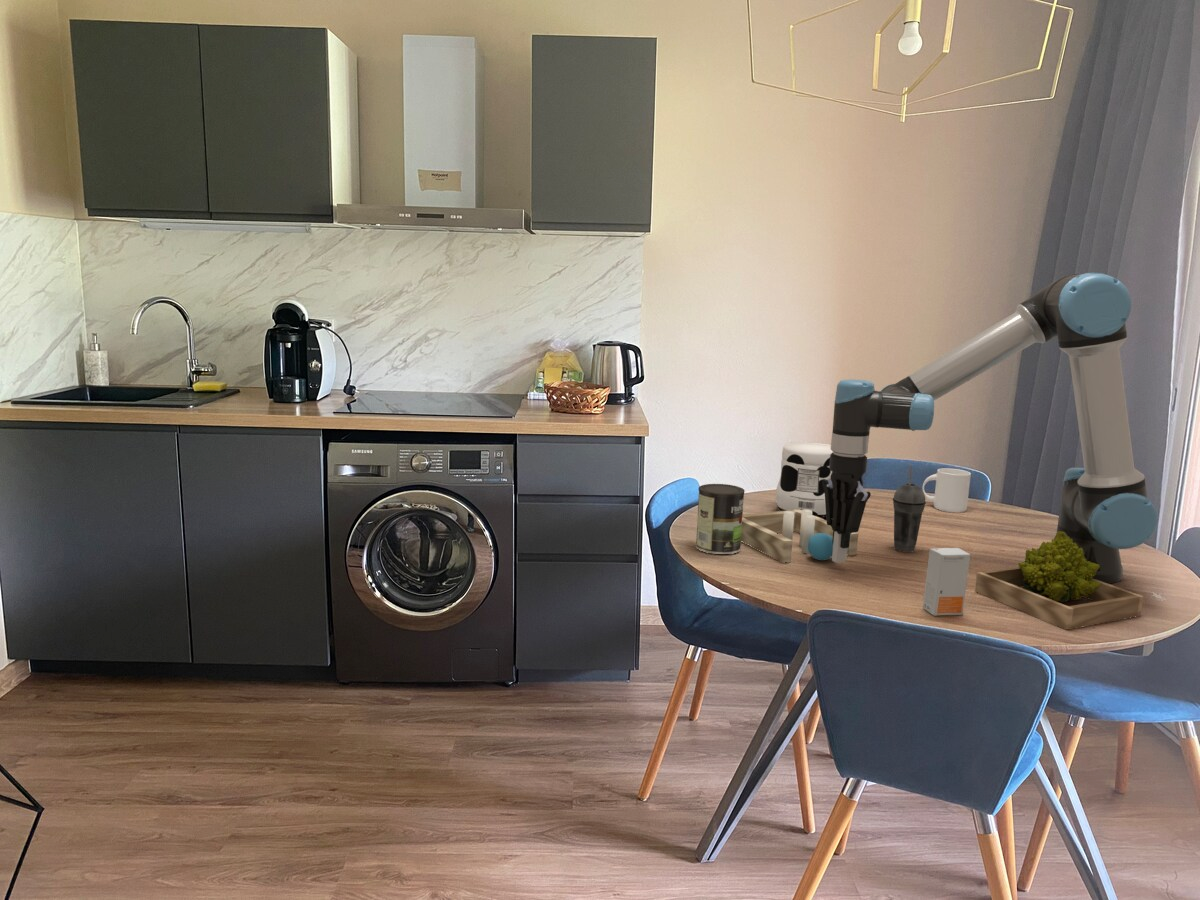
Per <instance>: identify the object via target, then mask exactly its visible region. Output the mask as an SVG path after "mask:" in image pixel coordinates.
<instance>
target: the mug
mask: <svg viewBox="0 0 1200 900" xmlns="http://www.w3.org/2000/svg"><path fill="white" fill-rule="evenodd" d="M971 475H972V473H971V472H970V471H967V470H964V469H958V468H948V467H947V468H937V471H936V473H934V474H931V475H929V476H927V477H926V478H925V480H924V481H923V483H922V490H923V492H924V495H925V500H928V501H930V502H931V503H932V502H933V507H934V508H935V509H936V510H938V509H939V510H938V511H941V510H942V511H941V512H945V511H947V512H946V513H952V512H961V513H964V512H966V511H967V509H968V502H969V494H970V485H971V484H970V483H971ZM930 481H935V489H934V490H935V491H934V495H929V494H927V493H926V491H925V486H926V484H927V483H928V482H930Z"/></svg>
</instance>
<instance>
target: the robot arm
mask: <svg viewBox="0 0 1200 900" xmlns="http://www.w3.org/2000/svg"><path fill="white" fill-rule="evenodd" d="M1132 305H1133V304H1132V298H1131V294H1130V293H1129V290H1128V288H1127V287H1126V285H1124V284H1123V283H1122V282H1121V281H1120V280H1119V279H1117V278H1116V277H1113V276H1111V275H1108V274H1105V273H1102V272H1101V273H1100V272H1085V273H1075V274H1068V275H1064V276H1062V277H1059V278H1058V279H1056V280H1054V281H1053V282H1051V283H1049V285H1047V286H1045V287H1044V288H1042V289H1041V290H1039V291H1038V292H1037V293H1035V294H1033V295H1031V297H1028V298H1027V299H1026V300H1024V301H1022V302H1021V303H1019V304H1018V305H1017V306H1016V309H1015V312H1014V313H1012V314H1010V315H1009V316H1007V317H1004V318H1003V319H1002V320H1000V321H998V322H997V323H994V324H993V325H992V326H990V327H988V328H987V329H985V330H983V331H981V332H980V333H978V334H976V335H974V336H973V337H971V338H969V339H968V340H966V341H965V342H963V343H961V344H960V345H958V346H956V347H955V348H952V349H951V350H950V351H947V352H946V353H944V354H943V355H942V356H939V357H938V358H936V359H934V360H932V361H931V362H930V363H927V364H926V365H924V366H922V367H921V368H918V369H917V370H916V371H914V372H913V373H910V374H909V375H908V376H906V377H904V378H902V379H901V380H899V381H897V382H895V383H891V384H888V385H885V386H884V387H883V388H881V390H880V391H879V390H875V384H874V382H873V381H872V380H871V381H870V380H861V379H852V378H851V379H842V380H840V381H839V382H838V383H837V385H836V389H835V398H834V406H833V418H832V419H833V422H832V432H831V441H830V442H831V443H830V445H831V450H832V451H833V453H831V454H830V464H829V469H830V470H831V471H832V474H831V478H830V479H828V480H823V481H822V484H823V488H824V491H825V506H826V517H825V518H826V519H825V520H827V525H830V526H831V527H832V530H833V539H832V543H833V553H832V557H831V561H832V562H833V563H844V562H847V559H848V555H847V550H848V548H849V543H850V542H849V541H850V534H851V533H854V532H856V533H858V532H859V529H860V525H861V523H862V519H863V515H864V512H865V509H866V505H867V502H868V500H869V499H870V498H871V491H869V490H868V491H866V489H864V487H863V485H864V482H863V475H864V474H865V473H866V472H867V465H868V463H867V462H868V457H867V455H866V454H867V453H868V452H869V451H868V450H869V441H870V440H869V439H870V433H871V431H870V430H871V428H880V429H881V428H883V429H894V430H895V429H896V430H897V429H898V430H909V431H913V432H914V431H927V430H928V431H929V429H930V428H931V427H932V425H933V421H934V416H935V401H936V400H938V399H939V398H941V397H943V396H945V395H946V394H948V393H950V392H951V391H954V390H955V389H957V388H959V387H960V386H962V385H964V384H966V383H968V382H969V381H971V380H972V379H974V378H976V377H978V376H979V375H982V374H983V373H985V372H987V371H988V370H990V369H991V368H994V367H995V366H997V365H999V364H1001V363H1002V362H1003V361H1006V360H1007V359H1009V358H1010V357H1013V356H1014V355H1016V354H1018V353H1019V352H1021V351H1023V350H1025V349H1027V348H1028V347H1031V345H1034V344H1035V343H1039V344H1045V343H1046V342H1048V341H1050V340H1052V339H1054V338H1056V337H1057V340H1058V341H1057V342H1058V348H1059V350H1060V351H1062V352H1064V353H1065V354H1066V355H1068V359H1069V365H1070V372H1071V373H1070V374H1071V379H1072V389H1073V395H1074V404H1075V409H1076V416H1077V423H1078V425H1077V426H1078V433H1079V439H1080V446H1081V454H1082V460H1083V462H1082V463H1083V467H1070V468H1068V469H1066V471H1065V472H1064V473H1065V474H1064V477H1063V480H1062V490H1061V496H1060V497H1061V499H1060V506H1059V511H1058V512H1059V515H1058V521H1057V529H1056V533H1055V536H1054V537H1056V534H1057V532H1058V531H1063V532H1065V533H1066V534H1067V536H1068V537H1070V539H1073V543H1076V544H1077V546H1078V548H1081V547H1082V548H1083V552H1084V557H1085V559H1086V560H1087V562H1088V561H1090V562H1091V563H1096V564H1098V565H1100V567H1099V569H1098V570H1097V571H1096V573H1095V574H1096V575H1095V576H1093V577H1092V578H1093V579H1096V580H1099V581H1102V582H1104V583H1107V584H1111V583H1113V584H1114V583H1117V582H1120V581H1121V580H1122V579H1123V571H1124V568H1123V565H1122V559H1121V554H1120V550H1128V549H1133V548H1137V547H1139V546H1141V545H1142V544H1144V543H1145V542H1147V541H1148V540H1149V539H1150V538H1151V537H1152V536H1153V535H1154V533H1155V532H1156V530H1157V527H1158V524H1159V516H1158V515H1159V514H1158V511H1157V509H1156V507H1155V506H1154V504H1153V502H1152V501H1151V500H1150V499H1149V498H1148V493H1147V485H1146V478H1145V477H1146V476H1145V474H1144V473H1142V472H1141V471H1139V470H1138V469H1137V468H1135V463H1134V454H1133V447H1132V439H1131V437H1132V436H1131V431H1130V424H1129V423H1130V422H1129V416H1128V415H1129V414H1128V408H1127V399H1126V391H1125V383H1124V376H1123V374H1124V373H1123V369H1122V360H1121V352H1120V348H1121V346H1123V344H1124V343H1125V342H1126V340H1128V333H1127V325H1126V324H1127V323H1126V322H1127V321H1128V319H1129V318H1130V314H1131V312H1132Z"/></svg>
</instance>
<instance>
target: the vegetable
mask: <svg viewBox="0 0 1200 900" xmlns="http://www.w3.org/2000/svg"><path fill="white" fill-rule="evenodd" d="M1056 533H1057V534H1056ZM1056 533H1055V536H1056V537H1055V536H1054V537H1053V538H1052V539H1051V541H1046V542H1045V541H1042V542H1041V544H1040V546H1039V547H1037V549H1036V548H1034V547H1031V549H1026V550H1025V555H1024V556H1025V558H1024V562H1017V565H1018V567H1020V569H1021V571H1022V572H1023V576H1024V577H1025V578H1024V580H1023V582H1024V583H1025V584H1023V586H1022V587H1021V588H1023V589H1025V590H1028V591H1031V592H1033V593H1036V594H1038V595H1041V596H1043V597H1046V598H1048V599H1051V600H1054V601H1056V602H1062V603H1064V602H1067V601H1068V600H1078V601H1079V600H1080V599H1082V598H1085V597H1088V594H1092V592H1094V591H1095V590H1096V589H1097V588H1098V587H1099V586H1100V585H1101V583H1098V582H1096V581H1093V580H1092V579H1093V578H1092V577H1093V576H1095V575H1096V574H1095V573H1096V571H1097V570H1098V569H1099V567H1100V565H1098V564H1096V563H1091V562H1090V561H1088V562H1087V560H1086V559H1085V557H1084V552H1083V548H1082V547H1081V548H1078V546H1077V544H1076V543H1073V539H1070V537H1068V536H1067V534H1066V533H1065V532H1063V531H1058V532H1057V531H1056Z"/></svg>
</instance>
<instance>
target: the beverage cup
mask: <svg viewBox="0 0 1200 900" xmlns="http://www.w3.org/2000/svg"><path fill="white" fill-rule="evenodd" d="M912 467H913V466H912V465H909V469H908V470H909V471H908V473H909V475H908V483H904V484H902V485H901V486H899V487H898V488H897V489H896V490H895V491H894V495H893V498H892V501H893V502H892V503H893V509H894V510H893V511H894V512H893V514H894V515H893V516H894V518H893V544H894V547H893V549H894V548H895V549H894V550H896V551H898V550H900V551H899V552H903V551H905V553H913V552H915V548H916V545H917V541H918V535H919V531H920V526H921V521H922V515H923V513H924V510H925V507H926V506H925V505H926V504H927V502H926V498H925V495H924V492H923V488H921V487H920V486H919V485H918V484H914V483H912ZM912 551H913V552H912Z"/></svg>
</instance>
